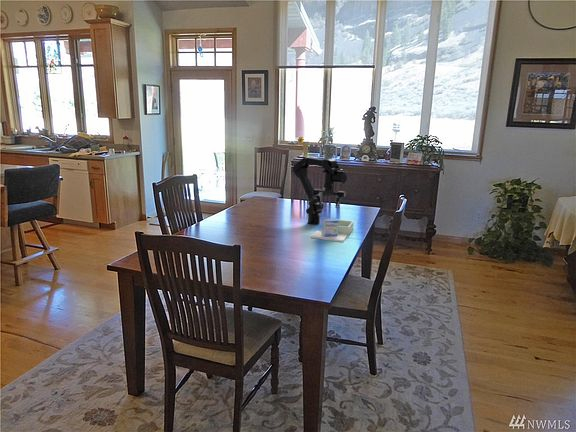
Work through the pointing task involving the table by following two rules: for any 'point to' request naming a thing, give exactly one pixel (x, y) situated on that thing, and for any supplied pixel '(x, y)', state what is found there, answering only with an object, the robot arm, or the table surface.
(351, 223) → the sage bin
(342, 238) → the tray
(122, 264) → the table surface
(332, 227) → the medicine box
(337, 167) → the robot arm
